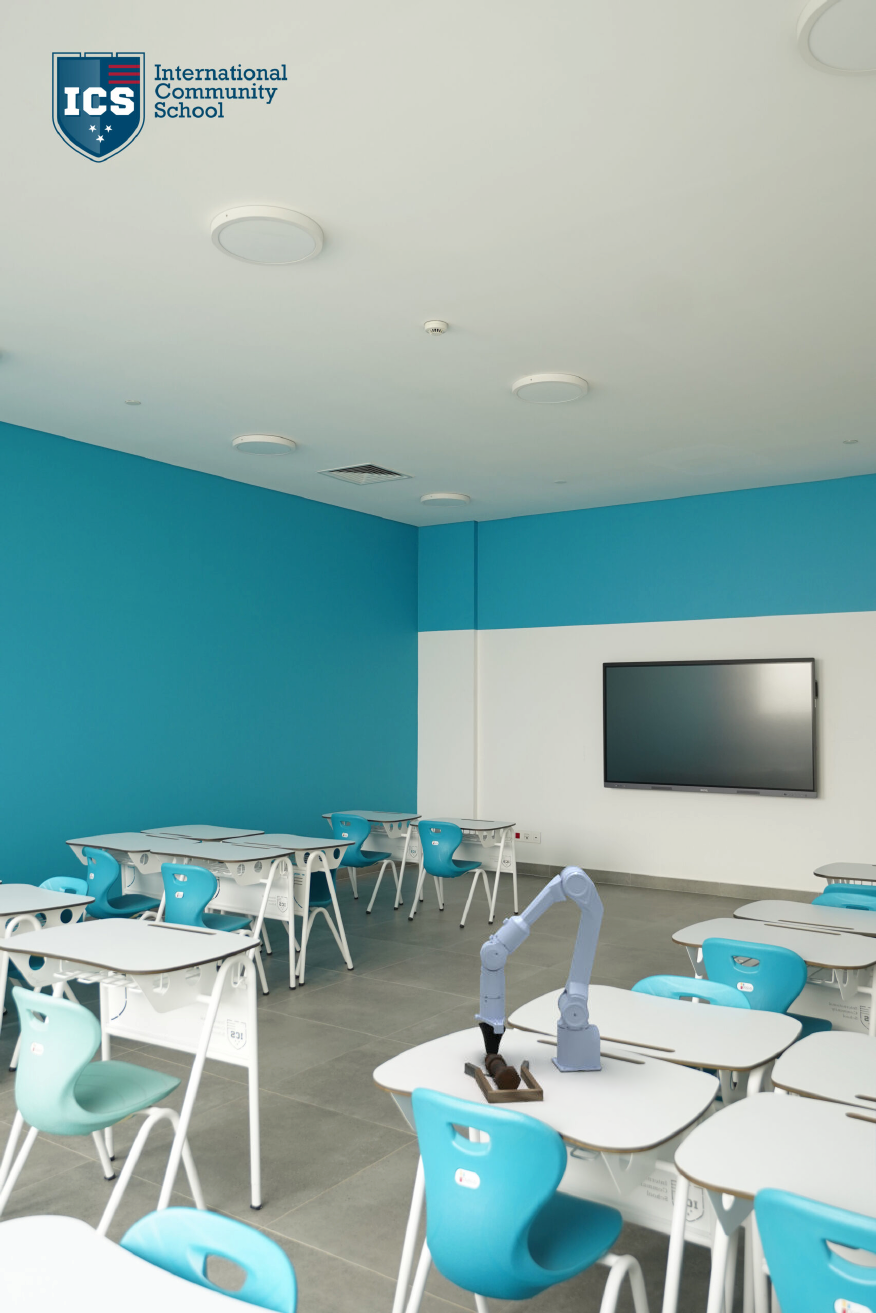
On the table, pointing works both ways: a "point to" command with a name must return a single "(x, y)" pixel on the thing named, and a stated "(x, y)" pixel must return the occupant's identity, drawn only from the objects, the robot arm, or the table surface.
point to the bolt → (502, 1072)
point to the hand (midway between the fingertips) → (491, 1056)
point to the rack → (507, 1095)
